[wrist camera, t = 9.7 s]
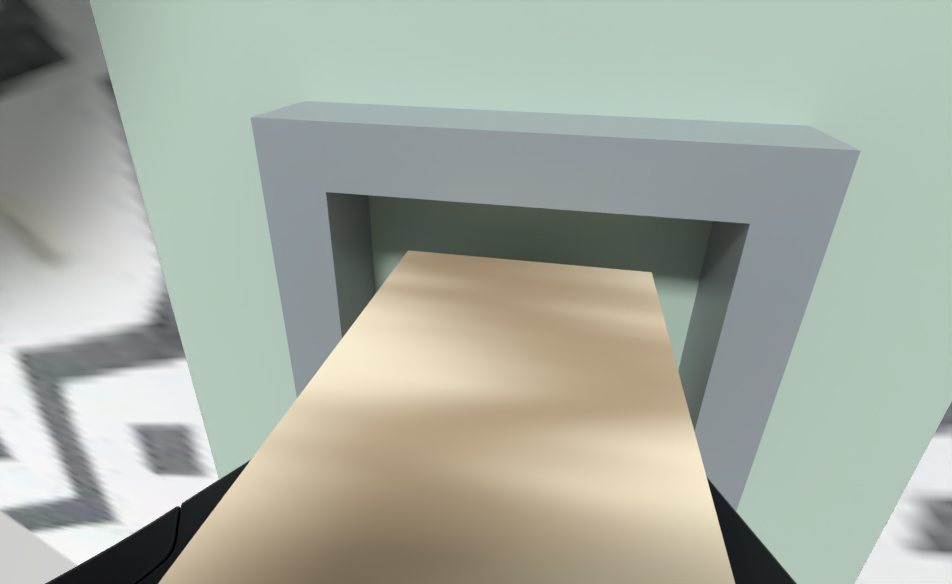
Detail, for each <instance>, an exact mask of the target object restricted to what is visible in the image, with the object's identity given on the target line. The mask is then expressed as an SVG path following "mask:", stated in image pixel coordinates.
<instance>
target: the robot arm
mask: <svg viewBox="0 0 952 584" xmlns="http://www.w3.org/2000/svg"><path fill="white" fill-rule="evenodd" d="M250 461H251V460H249V461H247V462H246V463H244V464H243V465H241V466H240V467H238V468H236V469H235V470H233V471H232V472H230V473H229V474H227V475H226V476H224V477H222V478H221V479H219V480H218V481H216V482H215V483H213V484H211V485H210V486H208V487H207V488H205V489H204V490H202V491H200V492H199V493H197V494H196V495H194V496H193V497H191V498H189V499H188V500H186V501H185V502H183V503H182V505H181V508H180V507H178V506H177V507H175V508H173V509H172V510H170V511H169V512H167V513H166V514H164V515H162V516H161V517H159V518H158V519H156V520H155V521H153V522H151V523H150V524H148V525H146V526H145V527H143V528H142V529H140V530H138V531H137V532H135V533H133V534H132V535H130V536H129V537H127V538H125V539H124V540H122V541H120V542H119V543H117V544H115V545H114V546H112V547H110V548H108V549H107V550H105V551H103V552H101V553H99V554H98V555H96V556H94V557H92V558H91V559H89V560H87V561H85V562H84V563H82V564H80V565H78V566H77V567H75V568H73V569H72V570H69V571H68V572H66V573H64V574H62V575H60V576H58V577H57V578H55V579H53V580H51V581H49V582H47V583H46V584H158V583H159V582H160V581H161V579H162V578H163V577H164V575H165V574H166V573H167V571H168V570H169V569H170V567H171V566H172V565H173V563H174V562H175V561H176V559H177V558H178V557H179V555H180V554H181V553H182V551H183V550H184V549H185V547H186V546H187V545H188V543H189V542H190V541H191V539H192V538H193V537H194V535H195V534H196V533H197V531H198V530H199V529H200V527H201V526H202V525H203V523H204V522H205V521H206V519H207V518H208V517H209V515H210V514H211V513H212V511H213V510H214V509H215V507H216V506H217V505H218V503H219V502H220V501H221V499H222V498H223V497H224V495H225V494H226V493H227V491H228V490H229V489H230V487H231V486H232V485H233V483H234V482H235V481H236V479H237V478H238V477H239V475H240V474H241V473H242V471H243V470H244V469H245V467H246V466H247V465H248V463H249V462H250ZM706 477H707V476H706ZM707 480H708V484H709V488H710V492H711V495H712V499H713V503H714V506H715V510H716V514H717V518H718V521H719V525H720V529H721V533H722V536H723V540H724V544H725V547H726V551H727V555H728V559H729V562H730V566H731V570H732V574H733V577H734V581H735V584H797V583H796V582H795V581H794V580H793V578H792V577H791V576H790V575H789V574H788V572H787V571H786V570H785V569H784V568H783V567H782V565H781V564H780V563H779V562H778V561H777V559H776V558H775V557H774V556H773V555H772V553H771V552H770V551H769V550H768V549H767V547H766V546H765V545H764V544H763V543H762V542H761V540H760V539H759V538H758V537H757V536H756V534H755V533H754V532H753V531H752V530H751V528H750V527H749V526H748V525H747V524H746V523H745V521H744V520H743V519H742V518H741V517H740V515H739V514H738V513H737V512H736V511H735V509H734V508H733V507H732V506H731V505H730V503H729V502H728V501H727V500H726V499H725V498H724V496H723V495H722V494H721V493H720V492H719V490H718V489H717V488H716V487H715V486H714V484H713V483H712V482H711V481H710V480H709V479H708V477H707Z"/></svg>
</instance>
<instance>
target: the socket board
mask: <svg viewBox="0 0 952 584" xmlns="http://www.w3.org/2000/svg"><path fill="white" fill-rule="evenodd" d="M89 2H90V6H91V9H92V13H93V17H94V20H95V24H96V28H97V31H98V35H99V39H100V43H101V46H102V50H103V54H104V57H105V61H106V65H107V68H108V72H109V76H110V79H111V83H112V87H113V90H114V94H115V98H116V101H117V105H118V109H119V113H120V116H121V120H122V124H123V127H124V131H125V135H126V138H127V142H128V146H129V149H130V153H131V157H132V160H133V164H134V168H135V171H136V175H137V179H138V183H139V186H140V190H141V194H142V197H143V201H144V205H145V208H146V212H147V216H148V219H149V223H150V227H151V230H152V234H153V238H154V241H155V245H156V249H157V253H158V256H159V260H160V264H161V267H162V271H163V275H164V278H165V282H166V286H167V289H168V293H169V297H170V300H171V304H172V308H173V311H174V315H175V319H176V323H177V326H178V330H179V334H180V337H181V341H182V345H183V348H184V352H185V356H186V359H187V363H188V367H189V370H190V374H191V378H192V381H193V385H194V389H195V393H196V396H197V400H198V404H199V407H200V411H201V415H202V418H203V422H204V426H205V429H206V433H207V437H208V440H209V444H210V448H211V451H212V455H213V459H214V463H215V466H216V470H217V474H218V477H219V479H221V478H222V477H224V476H226V475H227V474H229V473H230V472H232V471H233V470H235V469H236V468H238V467H240V466H241V465H243V464H244V463H246V462H247V461H249V460H251V459H252V458H253V457H254V455H255V454H256V453H257V451H258V450H259V449H260V447H261V446H262V445H263V443H264V442H265V441H266V439H267V438H268V437H269V435H270V434H271V433H272V431H273V430H274V429H275V427H276V426H277V425H278V423H279V422H280V421H281V419H282V418H283V417H284V415H285V414H286V413H287V411H288V410H289V409H290V407H291V406H292V405H293V403H294V402H295V401H296V399H297V398H298V397H299V395H300V394H301V393H302V391H303V390H304V389H305V387H306V386H307V385H308V383H309V382H310V381H311V379H312V378H313V377H314V375H315V374H316V373H317V371H318V370H319V369H320V367H321V366H322V365H323V363H324V362H325V361H326V359H327V358H328V357H329V355H330V354H331V353H332V351H333V350H334V349H335V347H336V346H337V345H338V343H339V342H340V341H341V339H342V338H343V337H344V335H345V334H346V333H347V331H348V330H349V329H350V327H351V326H352V325H353V323H354V322H355V321H356V319H357V318H358V317H359V315H360V314H361V313H362V311H363V310H364V309H365V307H366V306H367V305H368V303H369V302H370V301H371V299H372V298H373V297H374V295H375V294H376V293H377V291H378V290H379V289H380V287H381V286H382V285H383V283H384V282H385V281H386V279H387V278H388V277H389V275H390V274H391V273H392V271H393V270H394V269H395V267H396V266H397V265H398V263H399V262H400V261H401V259H402V258H403V257H404V255H405V254H406V253H407V251H408V250H409V251H420V252H431V253H442V254H453V255H465V256H476V257H487V258H498V259H509V260H520V261H531V262H542V263H554V264H565V265H576V266H587V267H598V268H609V269H620V270H632V271H643V272H652V275H653V279H654V283H655V287H656V290H657V294H658V298H659V302H660V305H661V309H662V313H663V316H664V320H665V324H666V328H667V331H668V335H669V339H670V343H671V346H672V350H673V354H674V357H675V361H676V365H677V369H678V372H679V376H680V380H681V384H682V387H683V391H684V395H685V398H686V402H687V406H688V410H689V413H690V417H691V421H692V425H693V428H694V432H695V436H696V439H697V443H698V447H699V451H700V454H701V458H702V462H703V465H704V469H705V473H706V476H707V477H708V479H709V480H710V481H711V482H712V483H713V484H714V486H715V487H716V488H717V489H718V490H719V492H720V493H721V494H722V495H723V496H724V498H725V499H726V500H727V501H728V502H729V503H730V505H731V506H732V507H733V508H734V509H735V511H736V512H737V513H738V514H739V515H740V517H741V518H742V519H743V520H744V521H745V523H746V524H747V525H748V526H749V527H750V528H751V530H752V531H753V532H754V533H755V534H756V536H757V537H758V538H759V539H760V540H761V542H762V543H763V544H764V545H765V546H766V547H767V549H768V550H769V551H770V552H771V553H772V555H773V556H774V557H775V558H776V559H777V561H778V562H779V563H780V564H781V565H782V567H783V568H784V569H785V570H786V571H787V572H788V574H789V575H790V576H791V577H792V578H793V580H794V581H795V582H796V583H797V584H854V583H855V581H856V579H857V577H858V576H859V574H860V572H861V570H862V568H863V566H864V564H865V562H866V561H867V559H868V557H869V555H870V553H871V551H872V549H873V547H874V546H875V544H876V542H877V540H878V538H879V536H880V534H881V533H882V531H883V529H884V527H885V525H886V523H887V521H888V519H889V518H890V516H891V514H892V512H893V510H894V508H895V506H896V504H897V503H898V501H899V499H900V497H901V495H902V493H903V491H904V489H905V488H906V486H907V484H908V482H909V480H910V478H911V476H912V474H913V473H914V471H915V469H916V467H917V465H918V463H919V461H920V460H921V458H922V456H923V454H924V452H925V450H926V448H927V446H928V445H929V443H930V441H931V439H932V437H933V435H934V433H935V431H936V430H937V428H938V426H939V424H940V422H941V420H942V418H943V416H944V415H945V413H946V411H947V409H948V407H949V405H950V403H951V402H952V0H89Z"/></svg>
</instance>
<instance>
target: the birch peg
mask: <svg viewBox="0 0 952 584" xmlns="http://www.w3.org/2000/svg"><path fill="white" fill-rule="evenodd" d="M158 584H735V581H734V577H733V574H732V570H731V566H730V562H729V559H728V555H727V551H726V547H725V544H724V540H723V536H722V533H721V529H720V525H719V521H718V518H717V514H716V510H715V506H714V503H713V499H712V495H711V492H710V488H709V484H708V480H707V477H706V473H705V469H704V465H703V462H702V458H701V454H700V451H699V447H698V443H697V439H696V436H695V432H694V428H693V425H692V421H691V417H690V413H689V410H688V406H687V402H686V398H685V395H684V391H683V387H682V384H681V380H680V376H679V372H678V369H677V365H676V361H675V357H674V354H673V350H672V346H671V343H670V339H669V335H668V331H667V328H666V324H665V320H664V316H663V313H662V309H661V305H660V302H659V298H658V294H657V290H656V287H655V283H654V279H653V275H652V272H643V271H632V270H620V269H609V268H598V267H587V266H576V265H565V264H554V263H542V262H531V261H520V260H509V259H498V258H487V257H476V256H465V255H453V254H442V253H431V252H420V251H409V250H408V251H407V253H406V254H405V255H404V257H403V258H402V259H401V261H400V262H399V263H398V265H397V266H396V267H395V269H394V270H393V271H392V273H391V274H390V275H389V277H388V278H387V279H386V281H385V282H384V283H383V285H382V286H381V287H380V289H379V290H378V291H377V293H376V294H375V295H374V297H373V298H372V299H371V301H370V302H369V303H368V305H367V306H366V307H365V309H364V310H363V311H362V313H361V314H360V315H359V317H358V318H357V319H356V321H355V322H354V323H353V325H352V326H351V327H350V329H349V330H348V331H347V333H346V334H345V335H344V337H343V338H342V339H341V341H340V342H339V343H338V345H337V346H336V347H335V349H334V350H333V351H332V353H331V354H330V355H329V357H328V358H327V359H326V361H325V362H324V363H323V365H322V366H321V367H320V369H319V370H318V371H317V373H316V374H315V375H314V377H313V378H312V379H311V381H310V382H309V383H308V385H307V386H306V387H305V389H304V390H303V391H302V393H301V394H300V395H299V397H298V398H297V399H296V401H295V402H294V403H293V405H292V406H291V407H290V409H289V410H288V411H287V413H286V414H285V415H284V417H283V418H282V419H281V421H280V422H279V423H278V425H277V426H276V427H275V429H274V430H273V431H272V433H271V434H270V435H269V437H268V438H267V439H266V441H265V442H264V443H263V445H262V446H261V447H260V449H259V450H258V451H257V453H256V454H255V455H254V457H253V458H252V459H251V461H250V462H249V463H248V465H247V466H246V467H245V469H244V470H243V471H242V473H241V474H240V475H239V477H238V478H237V479H236V481H235V482H234V483H233V485H232V486H231V487H230V489H229V490H228V491H227V493H226V494H225V495H224V497H223V498H222V499H221V501H220V502H219V503H218V505H217V506H216V507H215V509H214V510H213V511H212V513H211V514H210V515H209V517H208V518H207V519H206V521H205V522H204V523H203V525H202V526H201V527H200V529H199V530H198V531H197V533H196V534H195V535H194V537H193V538H192V539H191V541H190V542H189V543H188V545H187V546H186V547H185V549H184V550H183V551H182V553H181V554H180V555H179V557H178V558H177V559H176V561H175V562H174V563H173V565H172V566H171V567H170V569H169V570H168V571H167V573H166V574H165V575H164V577H163V578H162V579H161V581H160V582H159V583H158Z"/></svg>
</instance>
